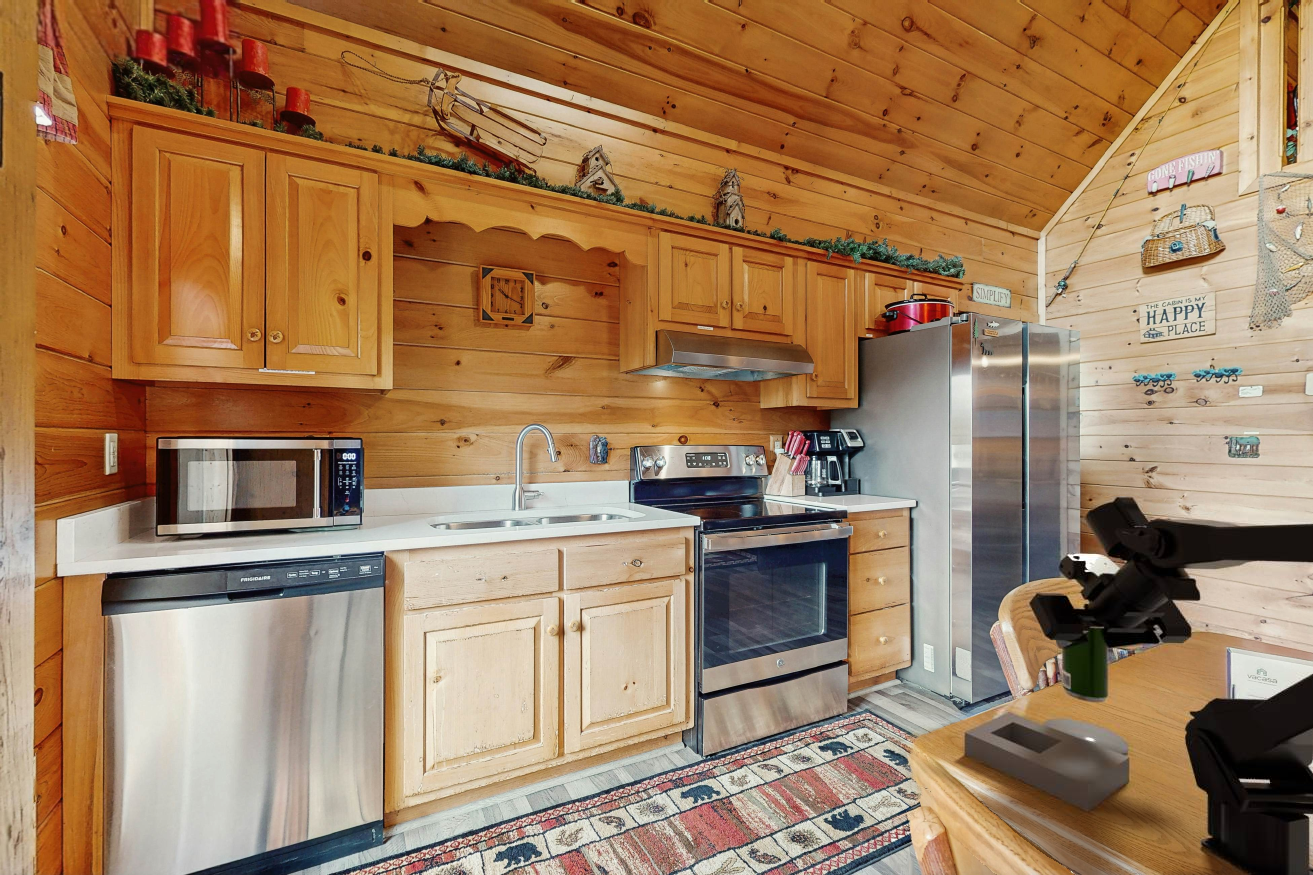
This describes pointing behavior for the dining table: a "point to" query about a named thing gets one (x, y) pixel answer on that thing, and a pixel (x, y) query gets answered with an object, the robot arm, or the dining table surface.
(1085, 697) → the beer can
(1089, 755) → the can dock
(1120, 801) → the dining table surface
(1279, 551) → the robot arm
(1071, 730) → the coaster
